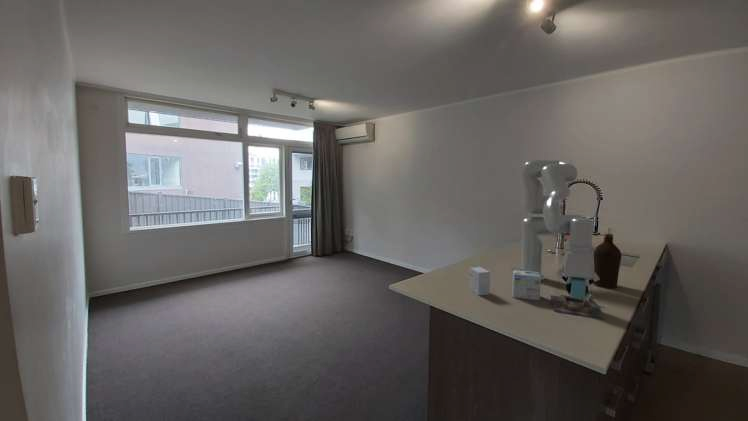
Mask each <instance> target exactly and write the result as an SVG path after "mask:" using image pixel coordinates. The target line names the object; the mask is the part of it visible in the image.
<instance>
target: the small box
mask: <svg viewBox="0 0 748 421" xmlns="http://www.w3.org/2000/svg"><path fill="white" fill-rule="evenodd" d="M490 281H491V272H490V271H489V270H487V269H485V268H484V267H481V266H477V267H470V268H469V288H468V289H469V290H470V291H471V292H472V293H474V294H475V295H477V297H478V296H487V295H489V296H490V288H491V283H490Z"/></svg>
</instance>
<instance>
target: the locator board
mask: <svg viewBox="0 0 748 421" xmlns="http://www.w3.org/2000/svg"><path fill="white" fill-rule="evenodd" d="M550 300H551V304H552V307H553V311H554V312H555V313H560V314H561V313H562V314H568V315H573V316H575V315H576V316H582V317H585V318H586V317H587V318H593V319H594V318H595V319H600V320H605V316H604V314H603V313H602V310H601V309H600V308H599V306H598V304H597V303H596V301H595V300H594V294H591V293H588V300H587V298H586V297H585V300H582V299H575V298H571V296H570V295H569V294H568V295H565V294H560V295H552V294H550Z"/></svg>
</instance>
